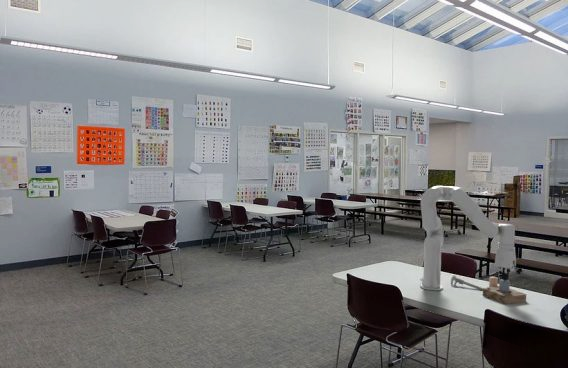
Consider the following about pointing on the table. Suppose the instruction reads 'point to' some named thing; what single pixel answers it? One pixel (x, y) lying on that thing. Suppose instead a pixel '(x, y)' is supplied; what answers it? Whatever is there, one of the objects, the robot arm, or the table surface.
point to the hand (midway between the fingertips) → (505, 279)
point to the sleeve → (504, 286)
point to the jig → (504, 295)
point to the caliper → (464, 283)
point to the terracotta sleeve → (493, 282)
